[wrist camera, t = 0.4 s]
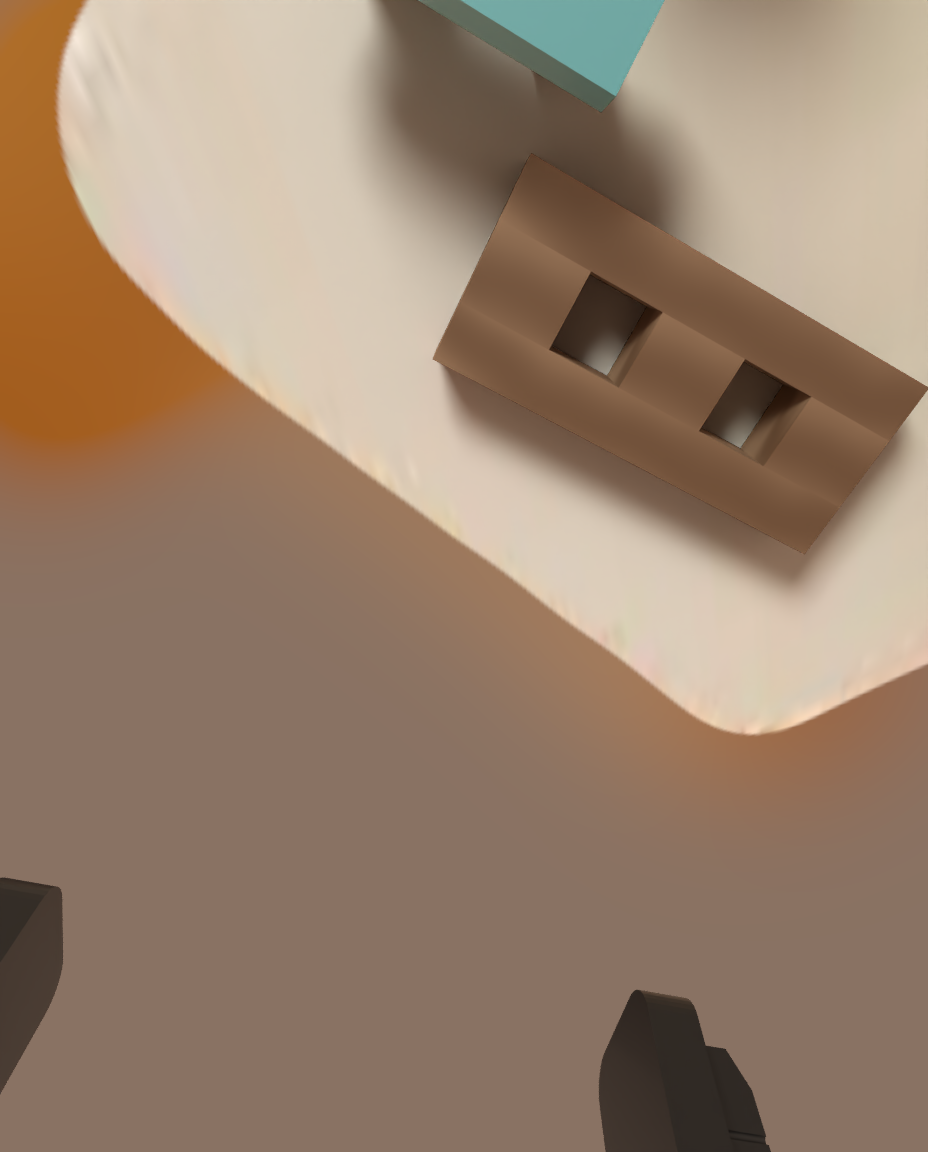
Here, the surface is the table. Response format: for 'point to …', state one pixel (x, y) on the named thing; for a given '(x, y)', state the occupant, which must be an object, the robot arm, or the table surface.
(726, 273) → the board
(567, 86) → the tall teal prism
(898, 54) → the table surface
